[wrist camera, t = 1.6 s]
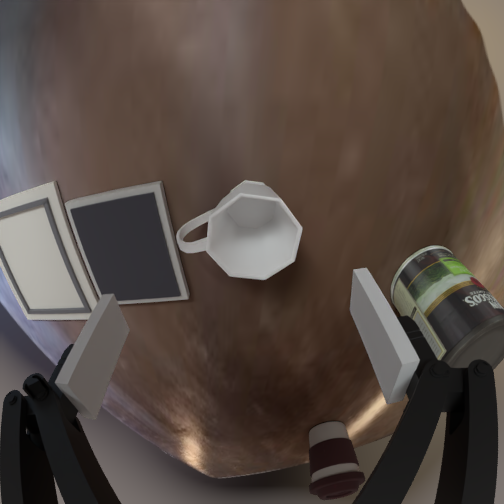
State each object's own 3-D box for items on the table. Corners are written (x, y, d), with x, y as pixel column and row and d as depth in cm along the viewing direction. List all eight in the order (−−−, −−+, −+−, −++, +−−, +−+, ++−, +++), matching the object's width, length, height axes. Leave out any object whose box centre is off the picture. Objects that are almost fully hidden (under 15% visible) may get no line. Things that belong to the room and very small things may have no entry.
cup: (294, 226, 29) (310, 270, 22) (197, 249, 30) (184, 298, 23) (279, 157, 26) (292, 180, 19) (174, 185, 27) (150, 218, 20)
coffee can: (413, 235, 30) (485, 314, 18) (466, 255, 32) (530, 322, 19) (375, 307, 35) (418, 397, 23) (430, 316, 36) (475, 391, 24)
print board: (-19, 207, 26) (-24, 210, 26) (56, 180, 26) (51, 183, 25) (29, 317, 35) (26, 321, 34) (106, 316, 35) (103, 321, 34)
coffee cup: (301, 422, 48) (311, 494, 35) (353, 412, 47) (371, 481, 34) (302, 442, 53) (310, 504, 39) (348, 433, 52) (362, 494, 39)
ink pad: (69, 200, 27) (63, 204, 26) (162, 180, 27) (158, 184, 26) (105, 300, 33) (101, 306, 32) (189, 293, 33) (188, 300, 32)
